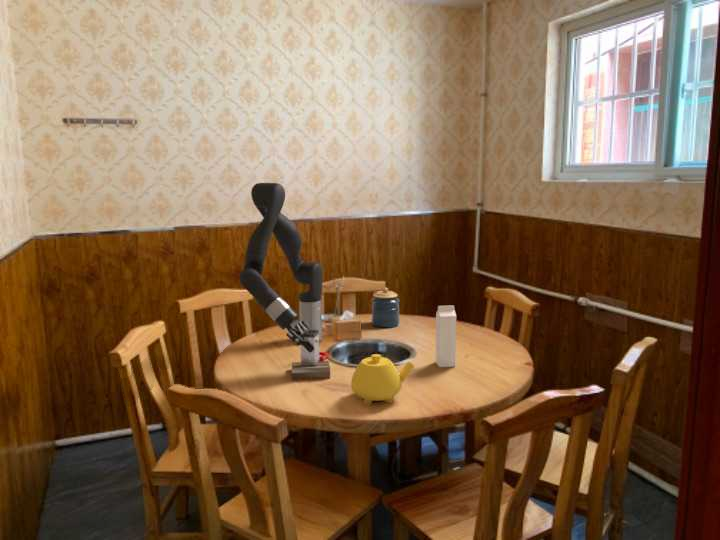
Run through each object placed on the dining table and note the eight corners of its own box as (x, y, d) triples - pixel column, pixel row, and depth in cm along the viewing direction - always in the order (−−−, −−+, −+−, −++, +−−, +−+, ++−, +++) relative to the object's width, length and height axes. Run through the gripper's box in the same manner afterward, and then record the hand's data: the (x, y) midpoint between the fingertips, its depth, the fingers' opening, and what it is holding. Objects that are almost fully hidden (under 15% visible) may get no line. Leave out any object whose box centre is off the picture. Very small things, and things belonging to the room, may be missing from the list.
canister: (386, 319, 265) (386, 283, 262) (405, 324, 255) (405, 287, 252) (365, 324, 256) (365, 287, 253) (384, 330, 246) (384, 291, 244)
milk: (435, 362, 203) (435, 304, 199) (451, 361, 203) (452, 303, 200) (439, 367, 197) (439, 307, 193) (455, 366, 197) (456, 307, 194)
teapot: (408, 385, 180) (408, 345, 177) (421, 404, 165) (421, 361, 162) (348, 390, 177) (347, 349, 175) (355, 409, 162) (354, 365, 159)
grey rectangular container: (300, 364, 190) (300, 333, 189) (305, 359, 195) (305, 329, 193) (315, 365, 189) (315, 334, 187) (320, 360, 194) (319, 330, 192)
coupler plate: (292, 369, 197) (292, 358, 196) (328, 367, 198) (328, 356, 197) (292, 380, 186) (291, 368, 185) (330, 378, 187) (330, 367, 186)
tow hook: (309, 354, 215) (304, 360, 206) (309, 321, 214) (303, 326, 204) (330, 355, 214) (325, 361, 205) (330, 322, 212) (325, 327, 203)
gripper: (280, 310, 184) (315, 347, 183) (295, 301, 198) (328, 335, 197) (266, 325, 186) (301, 361, 185) (282, 315, 200) (314, 349, 199)
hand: (314, 348), depth 191 cm, fingers closed on grey rectangular container, 5 cm apart
